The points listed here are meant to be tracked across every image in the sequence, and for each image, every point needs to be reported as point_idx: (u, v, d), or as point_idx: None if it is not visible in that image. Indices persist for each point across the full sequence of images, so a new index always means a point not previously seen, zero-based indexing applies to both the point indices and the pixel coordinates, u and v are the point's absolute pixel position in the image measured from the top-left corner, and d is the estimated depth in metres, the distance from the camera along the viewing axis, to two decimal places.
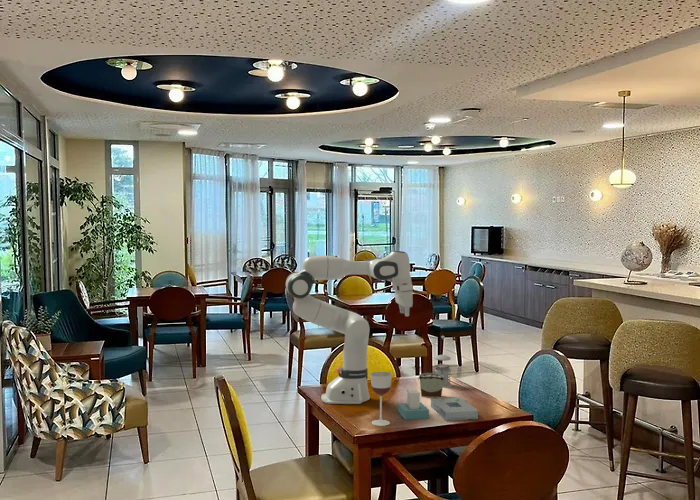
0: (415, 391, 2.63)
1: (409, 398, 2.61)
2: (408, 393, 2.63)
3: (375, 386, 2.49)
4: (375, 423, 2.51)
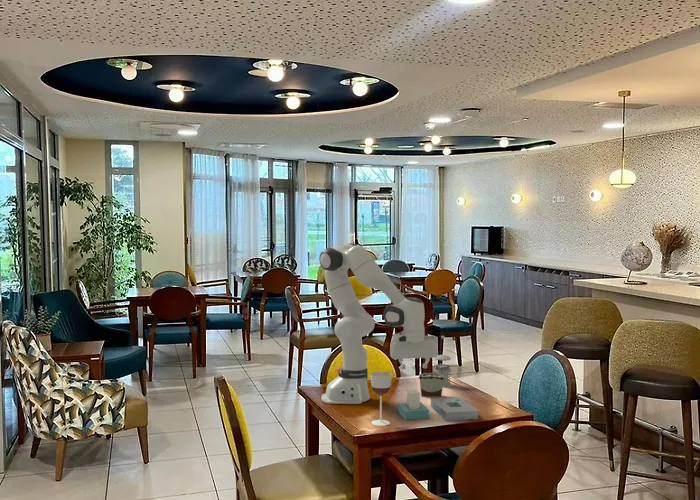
0: (415, 391, 2.63)
1: (409, 398, 2.61)
2: (408, 393, 2.63)
3: (375, 386, 2.49)
4: (375, 423, 2.51)
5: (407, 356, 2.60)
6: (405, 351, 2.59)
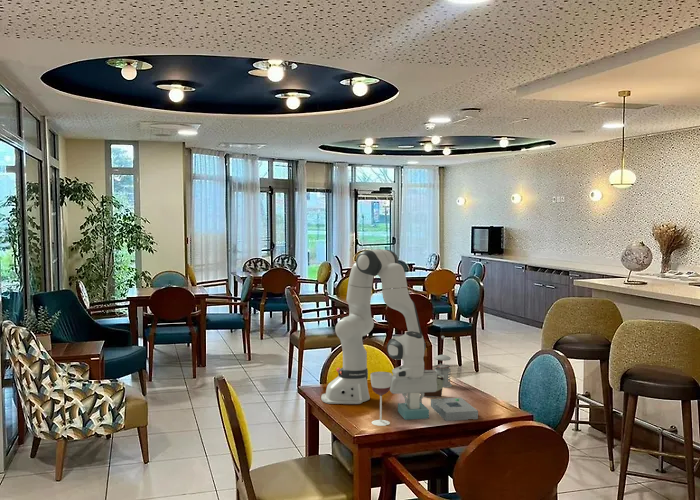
0: None
1: (409, 398, 2.61)
2: (408, 393, 2.63)
3: (375, 386, 2.49)
4: (375, 423, 2.51)
5: (406, 391, 2.60)
6: (405, 385, 2.60)
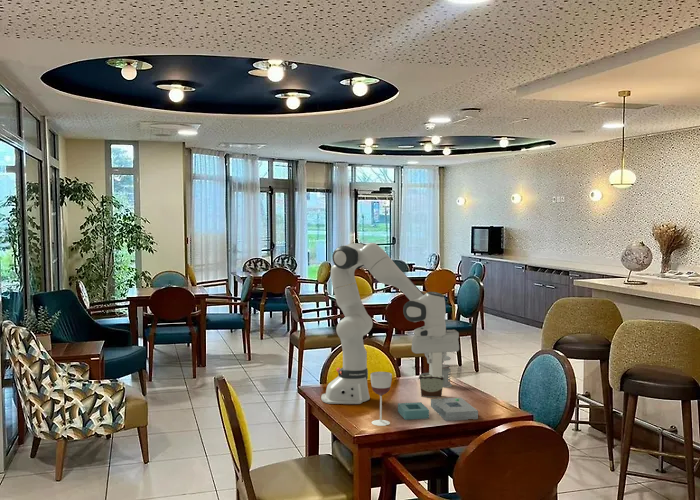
0: None
1: (431, 358, 2.62)
2: (430, 353, 2.63)
3: (375, 386, 2.49)
4: (375, 423, 2.51)
5: (428, 350, 2.61)
6: (427, 345, 2.61)
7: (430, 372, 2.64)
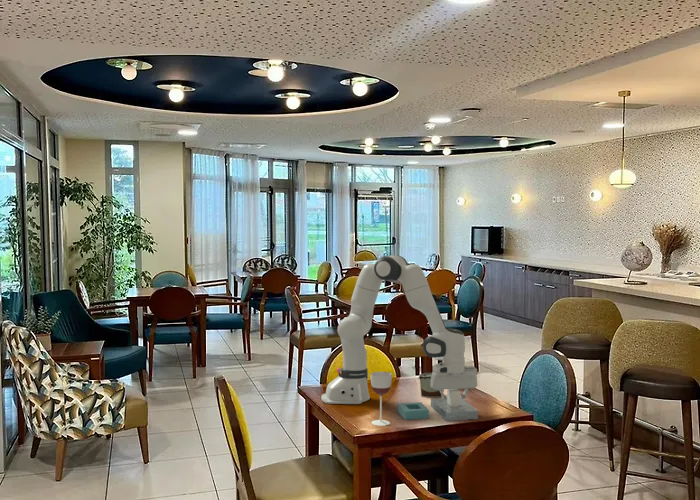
0: (455, 389, 2.66)
1: (450, 396, 2.65)
2: (448, 391, 2.66)
3: (375, 386, 2.49)
4: (375, 423, 2.51)
5: (447, 387, 2.64)
6: (446, 381, 2.63)
7: None
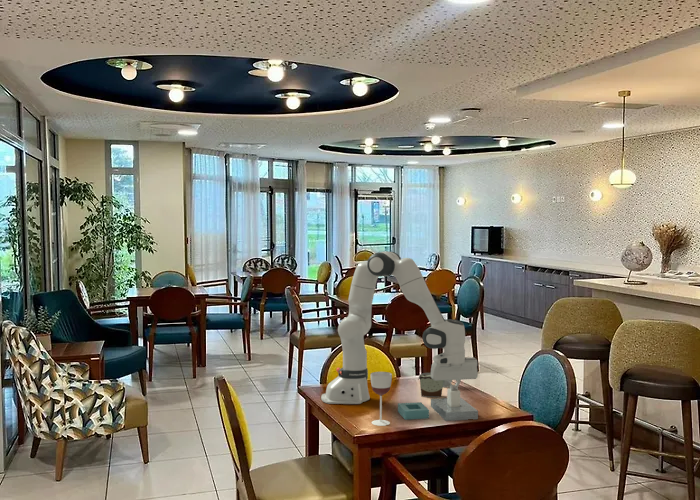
0: None
1: (450, 396, 2.65)
2: (448, 391, 2.66)
3: (375, 386, 2.49)
4: (375, 423, 2.51)
5: (447, 378, 2.63)
6: (446, 372, 2.63)
7: None
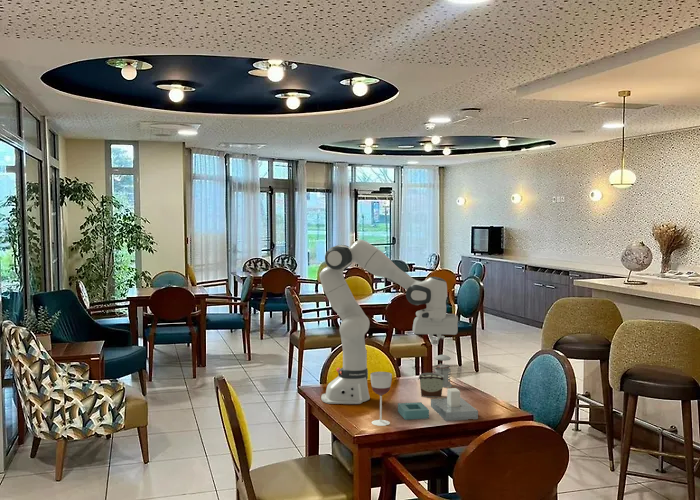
0: (455, 389, 2.66)
1: (450, 396, 2.65)
2: (448, 391, 2.66)
3: (375, 386, 2.49)
4: (375, 423, 2.51)
5: (428, 332, 2.75)
6: (427, 326, 2.75)
7: None
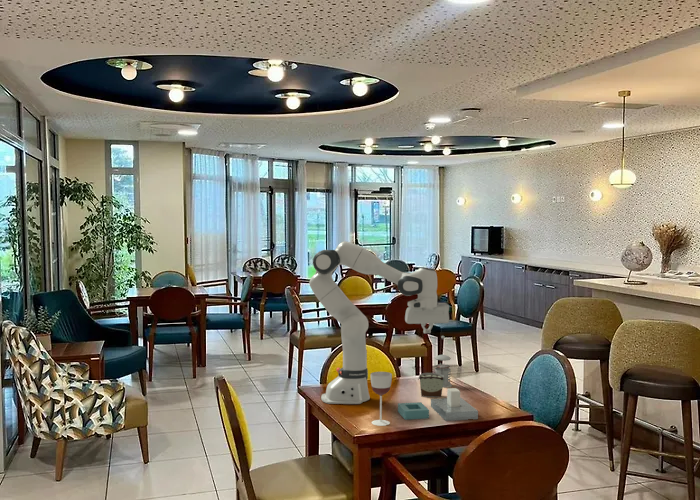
0: (455, 389, 2.66)
1: (450, 396, 2.65)
2: (448, 391, 2.66)
3: (375, 386, 2.49)
4: (375, 423, 2.51)
5: (421, 321, 2.81)
6: (419, 316, 2.81)
7: None
